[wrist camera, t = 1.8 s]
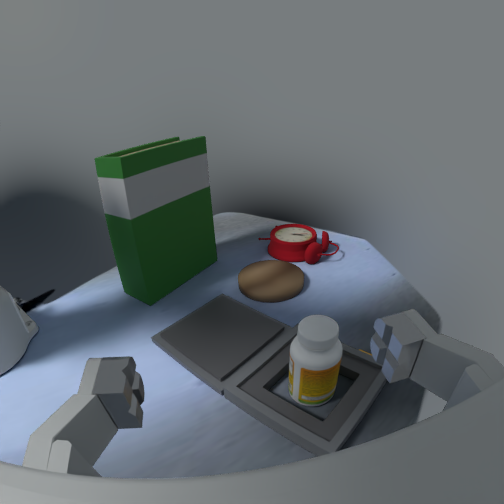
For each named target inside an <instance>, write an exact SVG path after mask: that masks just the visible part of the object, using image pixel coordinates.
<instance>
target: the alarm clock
mask: <svg viewBox="0 0 504 504" xmlns="http://www.w3.org/2000/svg"><path fill="white" fill-rule="evenodd" d="M316 239H317V234H316V231H315V230H314V229H313V228H311V227H309V226H306V225H301V224H285V225H280V226H275V228H274V229H273V230H272V231H271V234H270V238H259V240H271V241H270V244H269V245H268V253H269V254H270V255H271V256H272V257H274V258H276V259H278V260H282V261H287V262H301V261H306V262H307V263H308V264H315V263H316V262H318V261H319V259H320V258H321V255H326V256H329V255H333V254H335V253H336V252H337V251H338V249H339V247H338V245H336V244H334V243H330V242H332V241H329V235H328V233H327V232H325V231H323V232H322V244H319V243H317V242H316ZM329 244H333V245H335V246H337V250H336V251H335V252H334V253H332V254H322V252H326V251H327V250H328V246H329Z"/></svg>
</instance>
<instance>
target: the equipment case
mask: <svg viewBox="0 0 504 504" xmlns="http://www.w3.org/2000/svg"><path fill="white" fill-rule="evenodd" d="M298 325H299V323H298V324H297V325H296V326H294V327H293V328H292V327H290V326H288V325H286V324H284V323H282V322H280V321H277V320H275V319H273V318H271V317H269V316H267V315H265V314H263V313H261V312H259V311H257V310H255V309H253V308H250V307H248V306H246V305H244V304H242V303H240V302H238V301H236V300H234V299H232V298H230V297H228V296H226V295H224V294H221V295H219V296H218V297H216V298H215V299H213V300H211V301H210V302H208V303H207V304H205V305H203V306H202V307H200V308H198V309H197V310H195V311H194V312H192V313H190V314H189V315H187V316H185V317H184V318H182V319H181V320H179V321H177V322H176V323H174V324H172V325H171V326H169V327H167V328H166V329H164V330H163V331H161V332H159V333H158V334H156V335H154V336H153V337H151V338H152V342H154V343H155V344H156V345H157V346H158V347H160V348H161V349H162V350H163V351H164V352H166V353H167V354H168V355H169V356H171V357H172V358H173V359H174V360H176V361H177V362H178V363H179V364H181V365H182V366H183V367H184V368H186V369H187V370H188V371H190V372H191V373H192V374H194V375H195V376H196V377H197V378H199V379H200V380H201V381H203V382H204V383H205V384H207V385H208V386H210V387H211V388H212V389H214V390H215V391H216V392H218V393H219V394H221V395H223V394H224V396H225V398H226V399H228V400H229V401H230V402H232V403H233V404H235V405H236V406H238V407H239V408H241V409H242V410H244V411H245V412H246V413H248V414H249V415H251V416H252V417H254V418H256V419H257V420H259V421H260V422H262V423H263V424H265V425H266V426H268V427H269V428H271V429H273V430H274V431H276V432H277V433H279V434H281V435H282V436H284V437H286V438H287V439H289V440H291V441H292V442H294V443H296V444H297V445H299V446H301V447H302V448H304V449H306V450H308V451H309V452H311V453H313V454H315V455H316V456H322V455H325V454H329V453H333V452H336V451H339V450H340V449H341V447H342V446H343V445H344V443H345V442H346V441H347V439H348V438H349V437H350V435H351V434H352V433H353V431H354V430H355V428H356V427H357V426H358V424H359V423H360V421H361V420H362V418H363V417H364V415H365V414H366V412H367V411H368V409H369V408H370V406H371V405H372V403H373V402H374V400H375V399H376V397H377V396H378V394H379V393H380V391H381V389H382V388H383V386H384V385H385V383H386V381H387V379H386V377H385V375H384V374H383V372H382V366H383V365H381V364H379V363H377V362H376V361H375V360H374V358H373V356H372V354H370V353H367V352H365V351H363V350H360V349H359V350H357V349H355V348H353V347H350V346H348V345H346V344H344V343H341V344H342V348H343V351H342V358H341V363H340V368H339V374H342V375H344V376H346V377H348V378H350V379H352V380H355V382H354V383H353V385H352V386H351V387H350V389H349V390H348V391H347V393H346V394H345V395H344V396H343V398H342V399H341V400H340V402H339V403H338V404H337V405H336V407H335V408H334V409H333V410H332V412H331V413H330V414H329V415H328V417H327V418H326V419H325V420H324V422H323V421H321V420H319V419H317V418H315V417H313V416H311V415H310V414H308V413H306V412H304V411H302V410H301V409H299V408H297V407H295V406H293V405H292V404H290V403H288V402H286V401H285V400H283V399H281V398H280V397H278V396H276V395H274V394H273V393H271V392H269V391H268V389H270V388H271V387H272V386H273V385H274V384H275V383H276V382H277V381H278V380H279V379H280V378H281V377H282V376H283V375H284V374H285V373H286V372H287V371H288V370H289V361H290V346H291V343H292V341H293V339H294V338H295V337H296V336H297V332H298Z"/></svg>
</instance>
